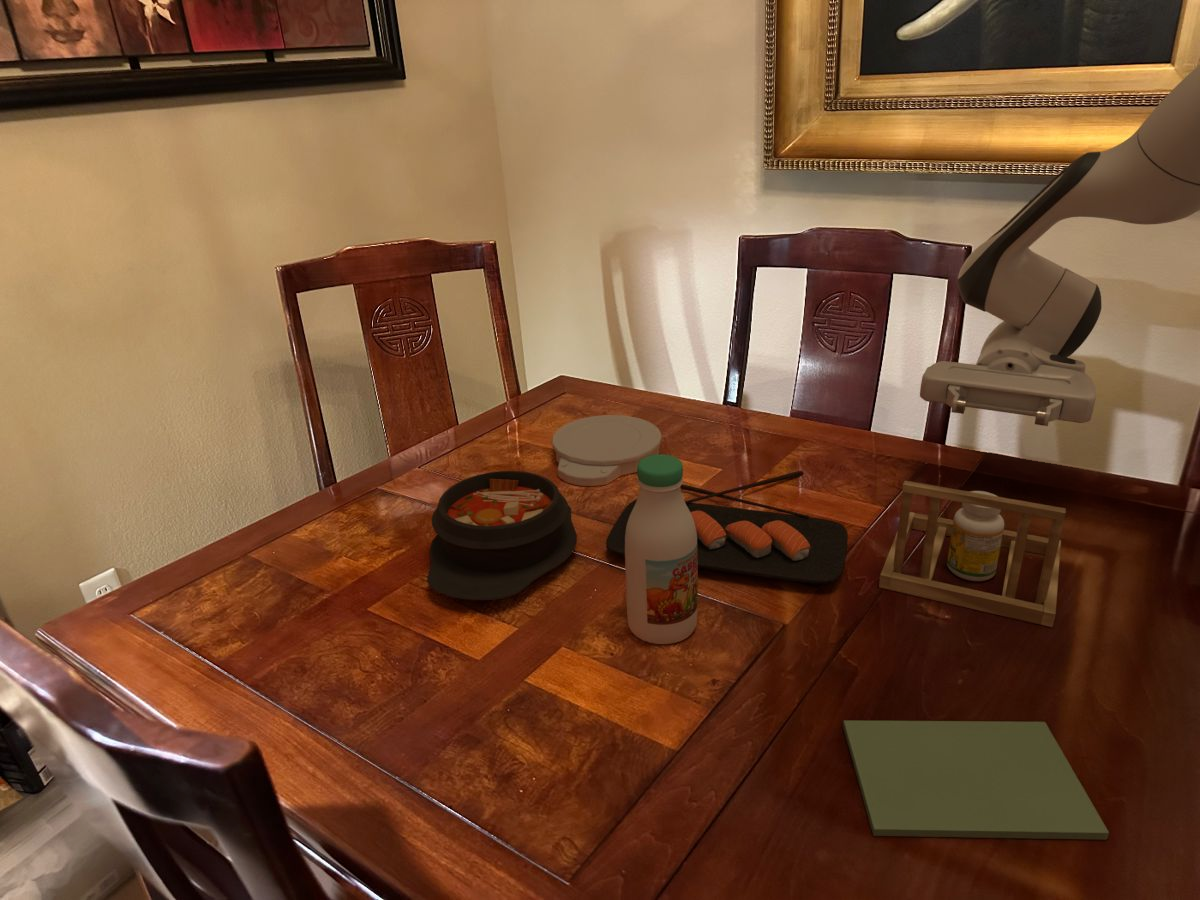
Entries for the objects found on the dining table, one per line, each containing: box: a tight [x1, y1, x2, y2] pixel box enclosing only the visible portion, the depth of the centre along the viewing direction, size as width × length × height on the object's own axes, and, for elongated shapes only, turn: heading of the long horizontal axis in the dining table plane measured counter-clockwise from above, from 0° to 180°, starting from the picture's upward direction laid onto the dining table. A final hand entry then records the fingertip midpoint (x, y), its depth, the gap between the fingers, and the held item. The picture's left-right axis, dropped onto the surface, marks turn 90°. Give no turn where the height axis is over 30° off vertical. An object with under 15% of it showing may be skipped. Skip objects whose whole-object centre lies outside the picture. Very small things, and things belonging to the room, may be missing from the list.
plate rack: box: [878, 480, 1067, 628], centre depth 97 cm, size 16×18×13 cm
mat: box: [842, 719, 1110, 841], centre depth 72 cm, size 18×12×1 cm, turn 87°
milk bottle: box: [624, 453, 699, 645], centre depth 89 cm, size 8×8×20 cm
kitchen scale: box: [551, 414, 663, 487], centre depth 131 cm, size 17×20×3 cm
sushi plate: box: [605, 470, 849, 585], centre depth 112 cm, size 29×30×4 cm
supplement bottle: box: [946, 490, 1005, 582], centre depth 98 cm, size 5×5×10 cm
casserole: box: [426, 470, 578, 601], centre depth 105 cm, size 25×19×8 cm
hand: (999, 413), depth 103 cm, fingers open, 8 cm apart
